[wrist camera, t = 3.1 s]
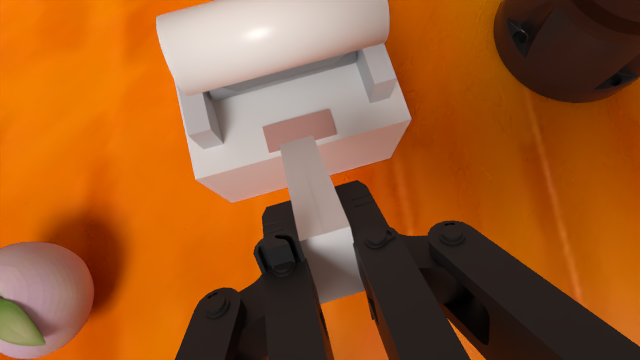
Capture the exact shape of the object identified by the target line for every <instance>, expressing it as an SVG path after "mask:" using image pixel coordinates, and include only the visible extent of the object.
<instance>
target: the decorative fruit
mask: <svg viewBox="0 0 640 360" xmlns="http://www.w3.org/2000/svg"><path fill="white" fill-rule="evenodd" d="M93 298H94V285H93V280H92V277H91V274H90V272H89V270H88V267H87V265H86V264H85V263H84V261H83V260H82V259H81V258H80V257H79V256H78V255H76V254H75V253H73V252H72V251H70V250H69V249H67V248H64V247H62V246H60V245H57V244H52V243H47V242H20V243H16V244H11V245H8V246H5V247H3V248H0V352H1V353H3V354H5V355H7V356H9V357H14V358H18V359H32V358H37V357H42V356H45V355H47V354H49V353H52V352H54V351H56V350H57V349H59V348H61V347H63V346H64V345H65V344H67V343H68V342H69V341H70V340H72V339H73V338H74V337H75V336H76V335H77V334H78V332H79V331H80V330H81V329H82V327H83V326H84V325H85V323H86V321H87V319H88V317H89V315H90V312H91V309H92V304H93Z"/></svg>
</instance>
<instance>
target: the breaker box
mask: <svg viewBox="0 0 640 360" xmlns="http://www.w3.org/2000/svg"><path fill="white" fill-rule="evenodd" d="M174 81H175V79H174ZM175 85H176V90H177V95H178V100H179V104H180V109H181V114H182V118H183V123H184V128H185V133H186V137H187V142H188V147H189V151H190V156H191V161H192V166H193V170H194V175H195V180H197V181H198V182H200V183H202V184H203V185H205V186H206V187H208V188H209V189H211V190H212V191H214V192H216V193H217V194H219V195H220V196H222V197H223V198H225V199H227V200H228V201H230V202H231V203H234V202H237V201H241V200H244V199H248V198H251V197H255V196H259V195H262V194H266V193H269V192H273V191H276V190H280V189H283V188H287V187H288V184H287V179H286V174H285V170H284V165H283V160H282V155H281V150H280V145H279V144H283V143H286V142H290V141H293V140H297V139H300V138H304V137H308V136H311V135H313V137H314V139H315V142H316V144H317V147H318V149H319V152H320V154H321V156H322V159H323V161H324V164H325V166H326V169H327V171H328V174H329V175H333V174H336V173H340V172H343V171H347V170H350V169H354V168H357V167H361V166H364V165H368V164H372V163H375V162H379V161H382V160H386V159H389V158H391V156H392V154H393V152H394V151H395V149H396V147H397V145H398V143H399V141H400V140H401V138H402V136H403V134H404V132H405V130H406V129H407V127H408V125H409V123H410V121H411V116H410V113H409V110H408V108H407V105H406V102H405V99H404V97H403V94H402V91H401V88H400V86H399V83H398V80H397V78H396V75H395V72H394V69H393V67H392V64H391V61H390V58H389V56H388V53H387V50H386V47H385V45H384V43H382V44H379V45H375V46H371V47H368V48H364V49H360V50H357V51H356V63H353V64H349V65H346V66H342V67H338V68H335V69H331V70H327V71H324V72H320V73H316V74H313V75H309V76H305V77H302V78H298V79H294V80H291V81H287V82H283V83H280V84H276V85H272V86H269V87H265V88H262V89H258V90H254V91H251V92H247V93H243V94H240V95H236V96H232V97H229V98H225V99H221V100H218V101H214V100H213V98H212V96H211V94H210V92H209V91H206V92H202V93H199V94H195V95H191V96H187V95H185V94H184V93H183V92H182V91H181V89H180V88H179V86H178V85H177V83H176V81H175Z"/></svg>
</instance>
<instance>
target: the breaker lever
mask: <svg viewBox="0 0 640 360" xmlns="http://www.w3.org/2000/svg"><path fill="white" fill-rule="evenodd" d="M389 26H390V18H389V6H388V0H215V1H211V2H208V3H204V4H200V5H196V6H193V7H189V8H185V9H181V10H177V11H174V12H170V13H166V14H162V15H158V16H157V18H156V28H157V34H158V38H159V42H160V45H161V48H162V52H163V54H164V57H165V60H166V62H167V65H168V67H169V69H170V71H171V73H172V76H173V77H174V79H175V81H176V83H177V85H178V86H179V88H180V89H181V91H182V92H183V93H184V94H185V95H187V96H191V95H195V94H199V93H202V92H206V91H209V92H210V94H211V96H212V98H213V100H214V101H218V100H221V99H225V98H229V97H232V96H236V95H240V94H243V93H247V92H251V91H254V90H258V89H262V88H265V87H269V86H272V85H276V84H280V83H283V82H287V81H291V80H294V79H298V78H302V77H305V76H309V75H313V74H316V73H320V72H324V71H327V70H331V69H335V68H338V67H342V66H346V65H349V64H353V63H356V51H357V50H360V49H364V48H368V47H371V46H375V45H379V44H382V43H385V42H386V41H387V39H388V35H389Z"/></svg>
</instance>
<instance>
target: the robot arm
mask: <svg viewBox="0 0 640 360" xmlns="http://www.w3.org/2000/svg"><path fill="white" fill-rule="evenodd" d="M494 38H495V43H496V47H497V50H498V53H499V55H500V57H501V59H502V61H503V62H504V64H505V66H506V67H507V68H508V70H509V71H510V72H511V73H512V74H513V75H514V76H515V77H516V78H517V79H518V80H519V81H520V82H521V83H523V84H524V85H525V86H527V87H528V88H530V89H531V90H533V91H535V92H537V93H539V94H541V95H543V96H545V97H548V98H551V99H555V100H559V101H564V102H573V103H583V102H592V101H597V100H601V99H604V98H606V97H609V96H611V95H613V94H615V93H617V92H618V91H620V90H622V89H623V88H625V87H626V86H628V85H630V84H631V83H633V82H634V81H636V80H637V79H638V78H639V77H640V0H503V1H502V2H501V4H500V6H499V8H498V11H497V13H496V17H495V22H494ZM279 145H280V150H281V155H282V160H283V165H284V170H285V174H286V179H287V184H288V189H289V194H290V198H291V200H290V201H286V202H283V203H279V204H276V205H272V206H269V207H266V209H265V212H264V214H263V216H262V224H263V234H264V235H263V236H264V238H263V239H261V240H260V241H259V242H258V244H257V245H256V246H255V249H254V253H253V254H254V256H255V258H256V261H257V263H258V265H259V268H260V270H261V273H262V275H261V276H260V278H259V279H258V280H257V281H255V282H254V283H253V284H251V285H250V286H248V287H247V288H245V289H243V290H242V291H240V292H238V291H236V290H234V289H232V288H220V289H216V290H214V291H212V292H210V293H209V294H207V295H206V296H205V297H204V298H202V299H201V300H200V301H199V303H198V305H197V306H196V308H195V310H194V313H193V315H192V318H191V320H190V323H189V325H188V328H187V330H186V333H185V335H184V338H183V340H182V343H181V346H180V348H179V351H178V353H177V356H176V358H175V360H334V357H333V353H332V349H331V344H330V340H329V336H328V332H327V327H326V323H325V319H324V316H323V313H322V309H321V306H320V304H322V303H325V302H328V301H332V300H335V299H338V298H342V297H345V296H348V295H352V294H355V293H358V292H362V291H366V294H367V299H368V303H369V308H370V312H371V317H372V320H373V319H374V320H375V323H376V326H377V328H378V331H379V334H380V336H381V339H382V342H383V345H384V347H385V350H386V353H387V355H388V358H389V360H471V359H470V358H469V356H468V354H467V352H466V351H465V349H464V347H463V345H462V344H461V342H460V340H459V338H458V337H457V335H456V333H455V331H454V330H453V328H452V326H451V324H450V323H449V321H448V319H449V320H450V321H451V323H452V324H453V325H454V326H455V327H456V328H457V329H458V330H459V331H460V332H461V333H462V334H463V335H464V336H465V337H466V338H467V340H468V341H469V342H470V343H471V344H472V345H473V346H474V347H475V348H476V349H477V350H478V351H479V352H480V353H481V354H482V355H483V357H484V358H485V359H486V360H640V347H639V346H638V345H637V344H635V343H634V342H632V341H631V340H630V339H628V338H627V337H625V336H624V335H623V334H621V333H620V332H618V331H617V330H616V329H614V328H613V327H611V326H610V325H609V324H607V323H606V322H604V321H603V320H602V319H600V318H599V317H597V316H596V315H595V314H593V313H592V312H590V311H589V310H588V309H586V308H585V307H583V306H582V305H581V304H579V303H578V302H576V301H575V300H574V299H572V298H571V297H569V296H568V295H567V294H565V293H564V292H562V291H561V290H559V289H558V288H557V287H555V286H554V285H552V284H551V283H550V282H548V281H547V280H545V279H544V278H543V277H541V276H540V275H538V274H537V273H536V272H534V271H533V270H531V269H530V268H529V267H527V266H526V265H524V264H523V263H522V262H520V261H519V260H517V259H516V258H515V257H513V256H512V255H510V254H509V253H508V252H506V251H505V250H503V249H502V248H501V247H499V246H498V245H496V244H495V243H494V242H492V241H491V240H489V239H488V238H487V237H485V236H484V235H482V234H481V233H480V232H478V231H477V230H475V229H474V228H473V227H471V226H469V225H467V224H465V223H463V222H459V221H443V222H440V223H437V224H435V225H434V226H433V227H431V228H430V230H429V232H428V236H406V235H401V234H399V233H398V232H397V231H396V230H395V229H393V228H391V227H389V225H388V224H387V222H386V220H385V218H384V217H383V215H382V213H381V211H380V209H379V208H378V206H377V204H376V202H375V200H374V199H373V197H372V195H371V193H370V191H369V190H368V188H367V186H366V185H364V184H363V183H361V182H359V181H358V180H356V181H353V182H349V183H346V184H342V185H339V186H335V187H334V186H333V183H332V181H331V178H330V176H329V174H328V171H327V169H326V166H325V164H324V161H323V159H322V156H321V154H320V152H319V149H318V147H317V144H316V142H315V139H314V137H313V135H311V136H308V137H304V138H300V139H297V140H293V141H290V142H286V143H283V144H279ZM364 288H365V290H364ZM447 318H448V319H447Z"/></svg>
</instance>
